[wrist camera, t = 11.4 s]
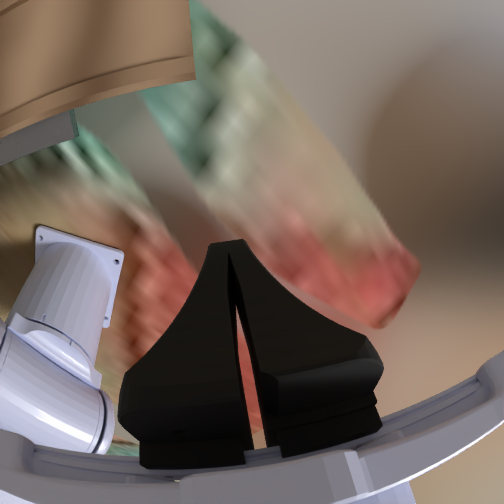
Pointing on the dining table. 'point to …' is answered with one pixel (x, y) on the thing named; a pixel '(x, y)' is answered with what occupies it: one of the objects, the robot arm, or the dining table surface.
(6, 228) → the dining table surface
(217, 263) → the robot arm
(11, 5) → the beam
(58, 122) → the pivot stand
